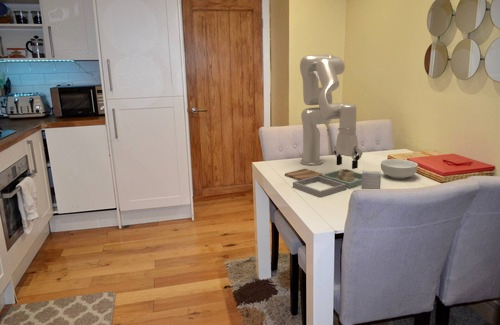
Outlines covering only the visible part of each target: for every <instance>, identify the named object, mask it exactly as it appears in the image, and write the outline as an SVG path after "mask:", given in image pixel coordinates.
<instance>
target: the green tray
mask: <svg viewBox="0 0 500 325" xmlns="http://www.w3.org/2000/svg"><path fill="white" fill-rule="evenodd" d="M344 169H345V168H341V169H337V170H334V171H331V172H326V173H322V175H321V177H324V178H327V179H331V180H334V181H337V182H340V183H344V184H346V189H353V188H356V187H358V186H362V173H360V172H356V171H354V178H355V179H356V180H354V181H351V182H346V181H343V180H339V178H337V177H339V171H340V170H344Z"/></svg>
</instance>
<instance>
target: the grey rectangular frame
mask: <svg viewBox="0 0 500 325" xmlns="http://www.w3.org/2000/svg"><path fill="white" fill-rule="evenodd" d="M316 182H317V183H318V182H319V183H321V184H325V185H327V186H331V187H329V188H326V189H325V188H324V189H322V190H320V189H317V188H313V187H311V186H308V185H309V184H314V183H316ZM292 188H293V189H297V190H299V191H302V192H305V193H308V194H309V195H312V196H316V197H319V198H322V197H326V196H329V195H332V194H335V193H339V192H342V191H345V190H347V188H346V184H344V183H340V182H337V181H334V180H331V179H327V178H324V177H321V176H314V177H311V178H307V179H303V180H296V181H293V182H292Z"/></svg>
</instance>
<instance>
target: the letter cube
mask: <svg viewBox="0 0 500 325" xmlns="http://www.w3.org/2000/svg"><path fill="white" fill-rule="evenodd" d="M343 169H344V170H341V169H339V170H340V171H339V176H338V179H339V180H343V181H346V182H352V181H355V180H354V178H355V177H354V172H355V171H354V170H351V169H347V168H343Z"/></svg>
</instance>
